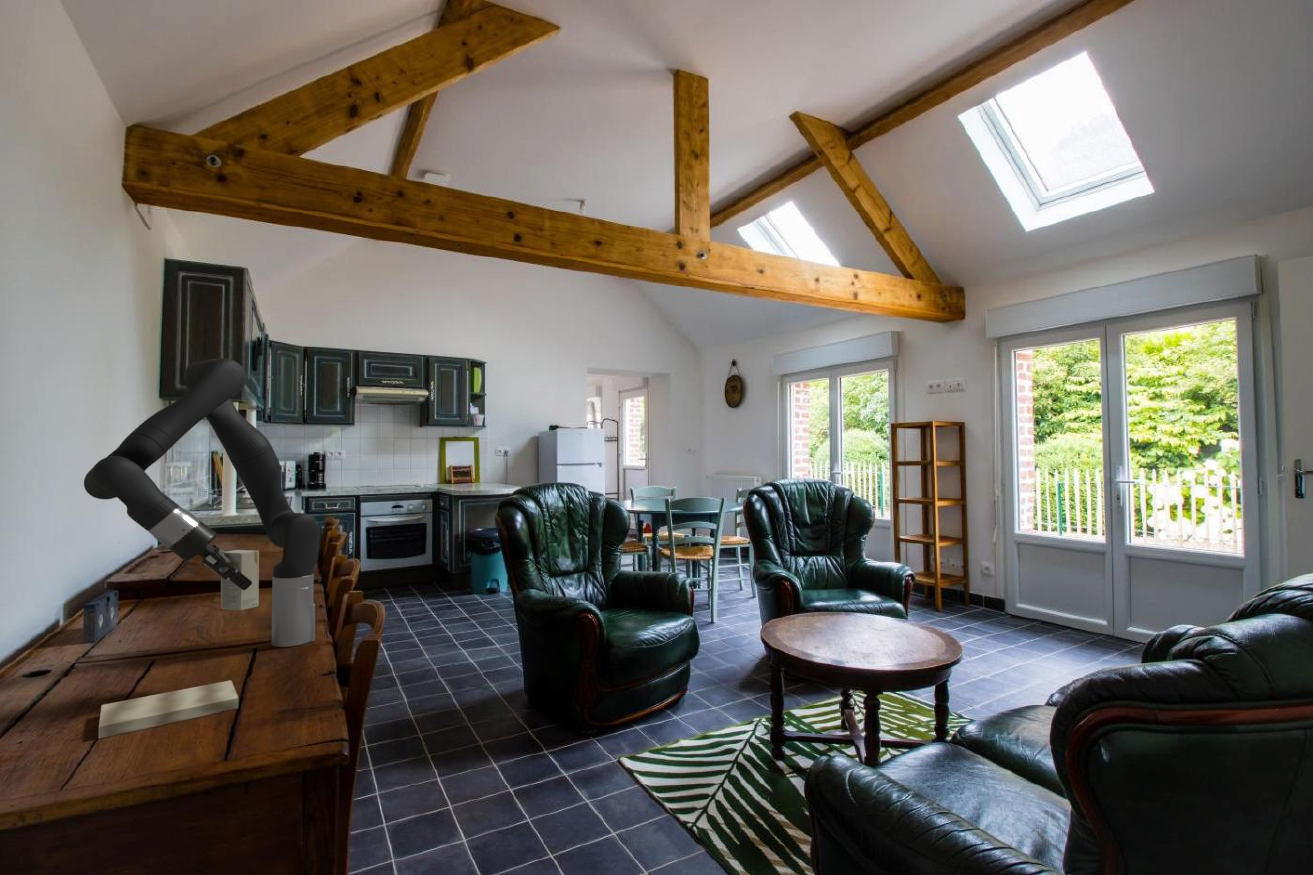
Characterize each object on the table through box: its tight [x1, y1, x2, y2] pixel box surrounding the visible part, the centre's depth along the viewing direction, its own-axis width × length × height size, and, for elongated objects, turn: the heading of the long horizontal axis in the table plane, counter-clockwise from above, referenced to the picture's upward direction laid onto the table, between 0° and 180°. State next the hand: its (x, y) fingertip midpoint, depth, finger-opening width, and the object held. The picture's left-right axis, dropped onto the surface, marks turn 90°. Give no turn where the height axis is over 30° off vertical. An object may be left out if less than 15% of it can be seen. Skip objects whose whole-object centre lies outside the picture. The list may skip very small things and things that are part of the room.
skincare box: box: [220, 549, 260, 611], centre depth 135 cm, size 6×4×12 cm
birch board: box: [98, 680, 239, 739], centre depth 118 cm, size 20×12×2 cm, turn 130°
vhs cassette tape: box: [82, 590, 119, 644], centre depth 168 cm, size 18×3×10 cm, turn 25°
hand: (248, 583), depth 136 cm, fingers closed on skincare box, 7 cm apart
